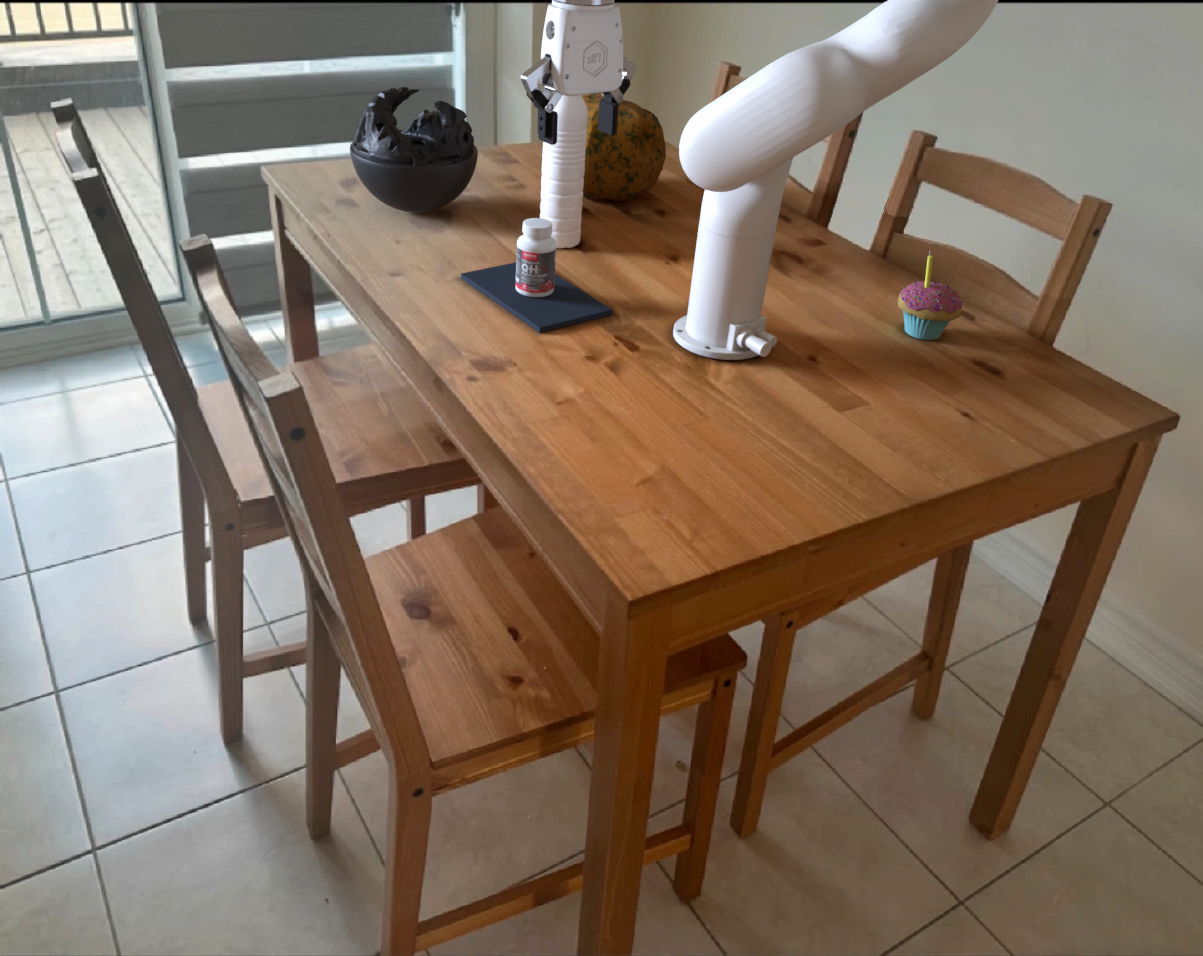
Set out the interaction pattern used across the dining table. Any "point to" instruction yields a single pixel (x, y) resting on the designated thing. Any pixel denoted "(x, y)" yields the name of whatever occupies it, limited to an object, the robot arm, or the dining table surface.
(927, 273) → the cupcake
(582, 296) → the mat
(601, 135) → the decorative pumpkin
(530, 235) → the pill bottle
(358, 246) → the dining table surface
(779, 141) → the robot arm
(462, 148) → the black sculptural bowl
